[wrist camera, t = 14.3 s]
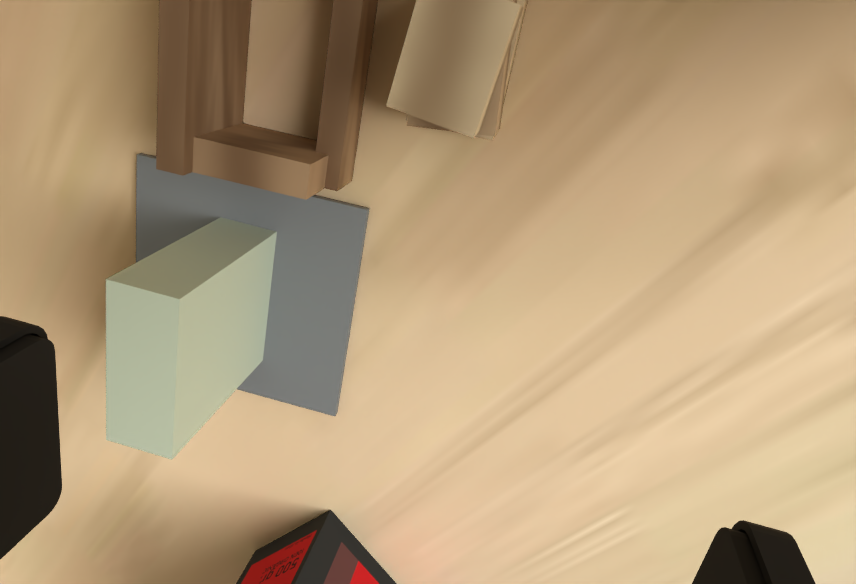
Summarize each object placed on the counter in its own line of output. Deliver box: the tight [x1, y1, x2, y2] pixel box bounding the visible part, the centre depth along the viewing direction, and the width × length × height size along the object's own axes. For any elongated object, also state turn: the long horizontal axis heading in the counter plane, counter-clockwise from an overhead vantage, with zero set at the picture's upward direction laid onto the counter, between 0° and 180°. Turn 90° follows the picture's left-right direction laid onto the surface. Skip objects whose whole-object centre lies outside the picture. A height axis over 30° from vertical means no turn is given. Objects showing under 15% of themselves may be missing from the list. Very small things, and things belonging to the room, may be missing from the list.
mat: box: [136, 153, 369, 416], centre depth 45 cm, size 16×16×1 cm
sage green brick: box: [106, 217, 277, 459], centre depth 39 cm, size 4×10×12 cm, turn 169°
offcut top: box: [386, 0, 524, 138], centre depth 30 cm, size 4×6×3 cm
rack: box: [156, 0, 378, 200], centre depth 35 cm, size 9×17×7 cm, turn 170°
